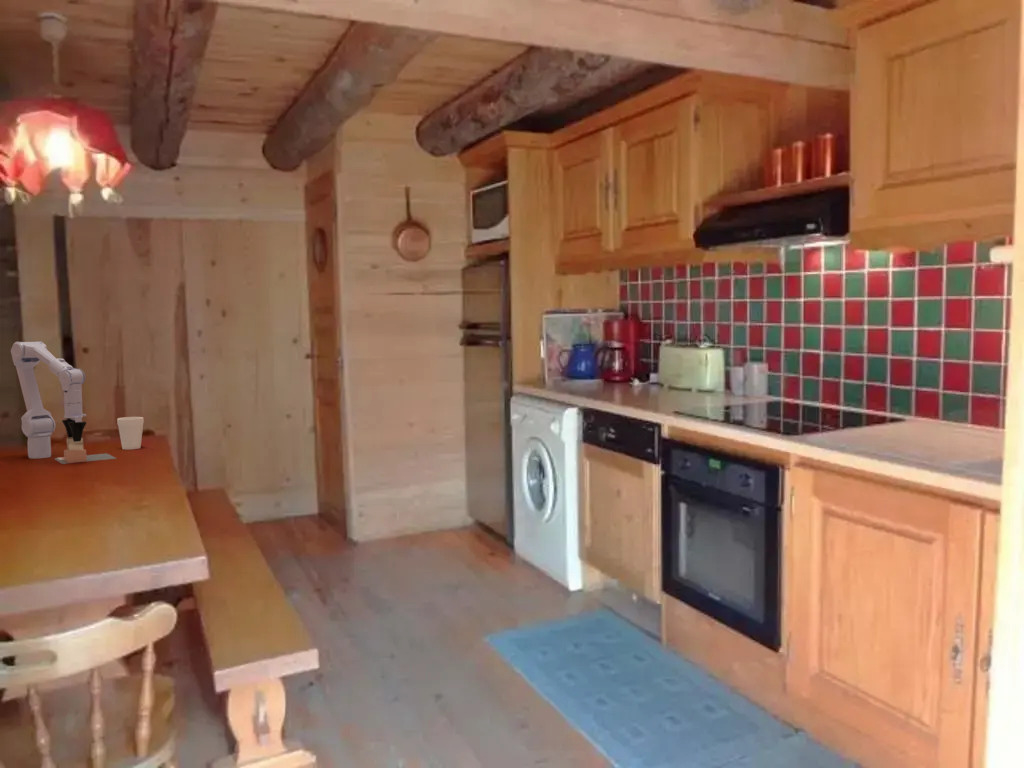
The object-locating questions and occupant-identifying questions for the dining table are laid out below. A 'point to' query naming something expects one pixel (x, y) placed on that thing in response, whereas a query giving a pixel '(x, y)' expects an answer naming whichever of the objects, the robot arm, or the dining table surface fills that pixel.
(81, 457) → the terracotta block
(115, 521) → the dining table surface
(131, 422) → the foam cup
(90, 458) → the build board
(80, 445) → the cream cube
